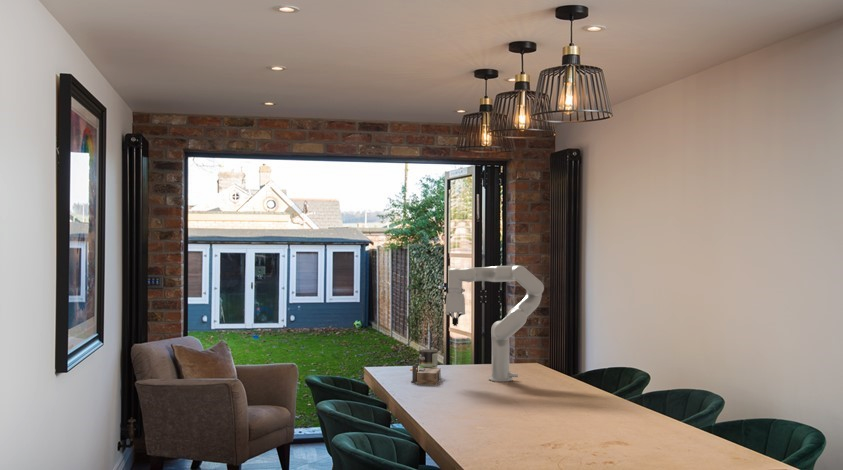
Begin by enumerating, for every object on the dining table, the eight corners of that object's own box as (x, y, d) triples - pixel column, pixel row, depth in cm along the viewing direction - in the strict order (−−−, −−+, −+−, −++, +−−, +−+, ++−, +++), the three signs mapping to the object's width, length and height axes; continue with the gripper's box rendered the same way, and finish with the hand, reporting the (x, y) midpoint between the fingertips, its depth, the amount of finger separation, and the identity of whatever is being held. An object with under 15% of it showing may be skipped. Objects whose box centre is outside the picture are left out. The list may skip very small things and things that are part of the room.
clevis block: (440, 379, 426) (440, 362, 426) (436, 384, 408) (436, 367, 408) (414, 378, 428) (415, 361, 428) (409, 384, 410) (409, 366, 410)
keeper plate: (417, 379, 421) (417, 367, 421) (416, 380, 416) (416, 369, 416) (411, 379, 421) (411, 367, 421) (410, 380, 416) (410, 369, 417)
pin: (440, 379, 419) (440, 372, 419) (439, 380, 415) (439, 373, 415) (418, 379, 420) (418, 371, 420) (417, 380, 416) (417, 372, 416)
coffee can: (423, 378, 430) (423, 352, 430) (415, 375, 439) (416, 349, 439) (440, 376, 434) (440, 351, 434) (432, 374, 444) (432, 349, 444)
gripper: (469, 291, 427) (469, 325, 427) (442, 290, 429) (442, 324, 429) (468, 291, 420) (468, 326, 419) (440, 291, 422) (440, 326, 421)
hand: (455, 325), depth 424 cm, fingers closed
